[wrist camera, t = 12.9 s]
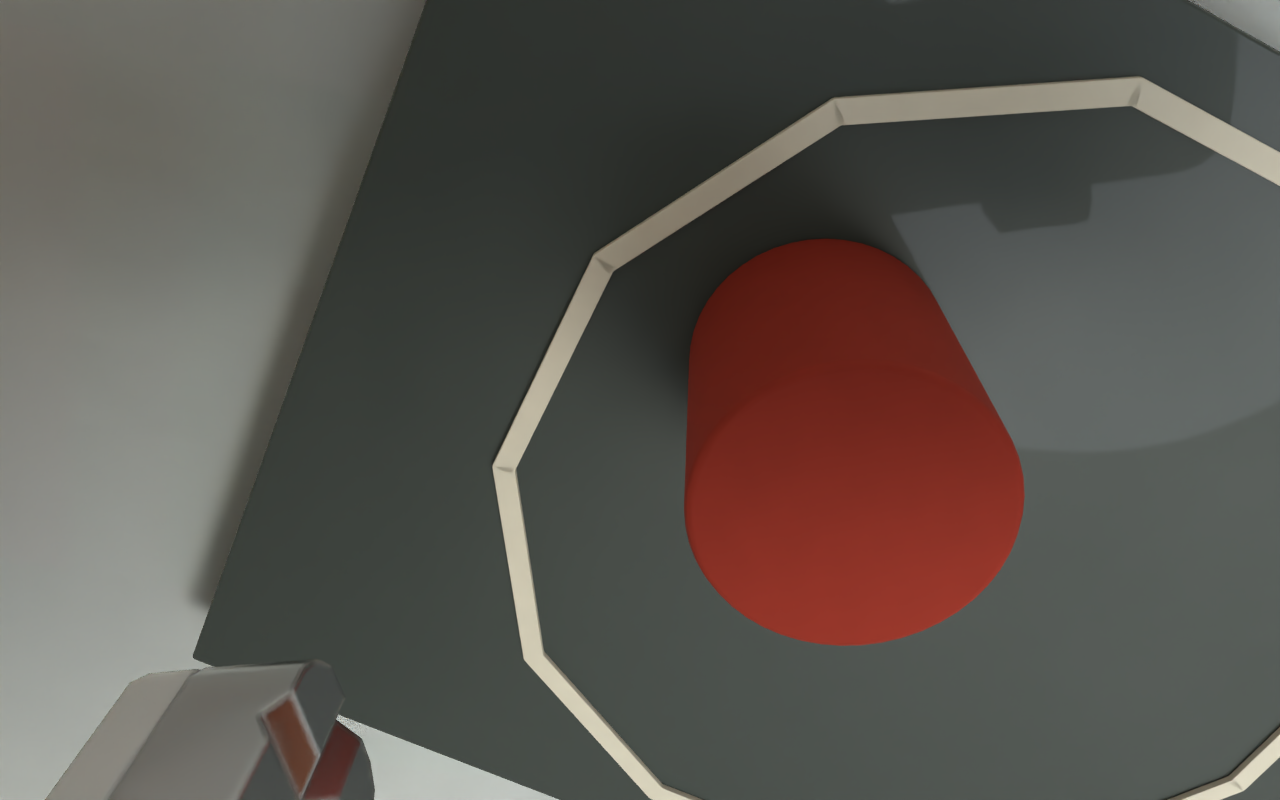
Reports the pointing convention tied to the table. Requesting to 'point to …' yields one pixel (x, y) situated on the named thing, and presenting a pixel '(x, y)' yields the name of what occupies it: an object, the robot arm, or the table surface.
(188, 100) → the table surface
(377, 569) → the slate board
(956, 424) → the red cylinder
